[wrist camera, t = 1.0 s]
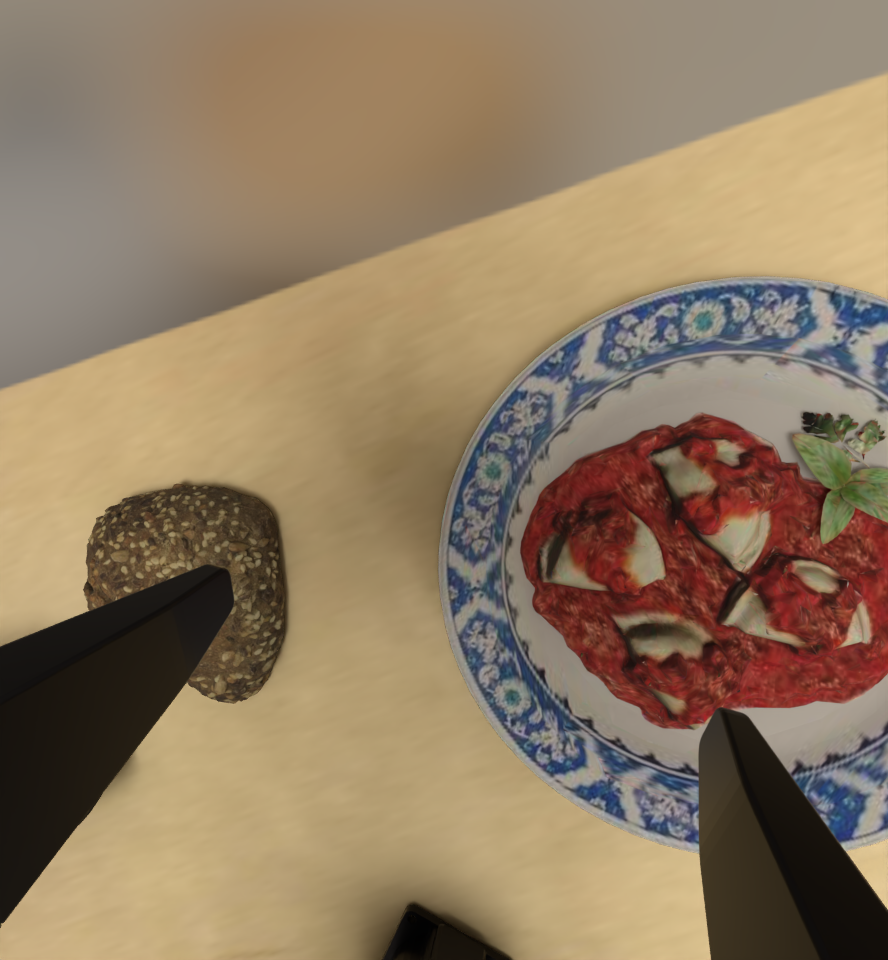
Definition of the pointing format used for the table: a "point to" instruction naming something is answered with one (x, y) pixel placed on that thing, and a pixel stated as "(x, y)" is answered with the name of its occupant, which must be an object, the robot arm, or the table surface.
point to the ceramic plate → (685, 551)
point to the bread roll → (188, 545)
